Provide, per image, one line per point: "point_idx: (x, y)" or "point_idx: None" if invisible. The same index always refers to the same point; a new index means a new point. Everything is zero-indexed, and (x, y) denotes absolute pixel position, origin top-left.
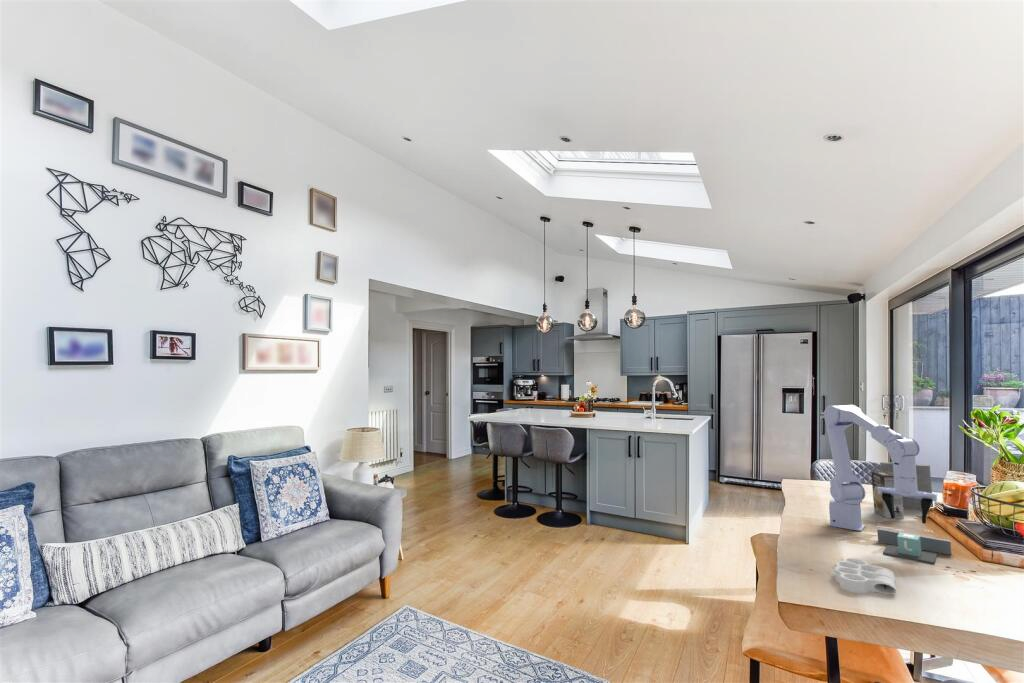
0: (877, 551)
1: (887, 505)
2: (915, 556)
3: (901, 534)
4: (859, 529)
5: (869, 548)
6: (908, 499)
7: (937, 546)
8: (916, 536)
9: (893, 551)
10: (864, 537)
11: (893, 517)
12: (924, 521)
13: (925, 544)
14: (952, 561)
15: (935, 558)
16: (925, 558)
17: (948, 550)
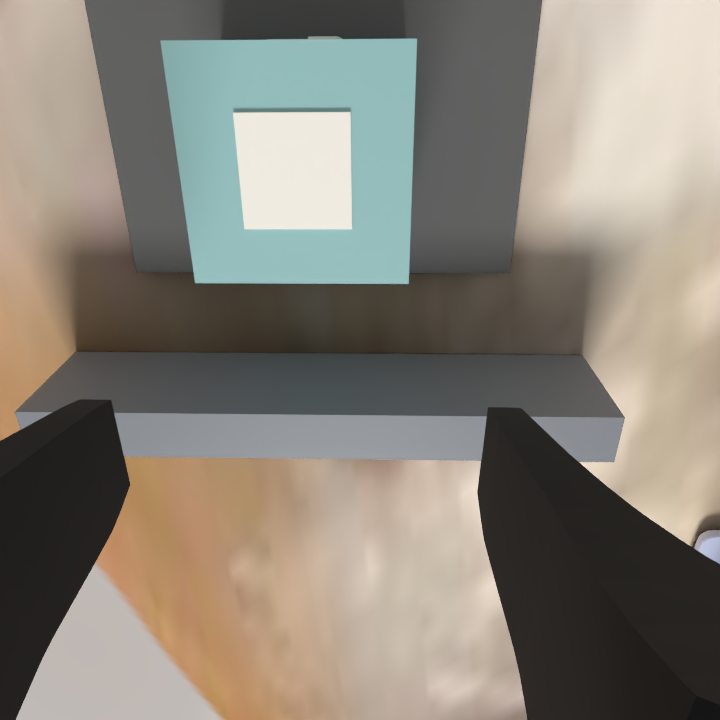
0: (596, 14)
1: (666, 537)
2: (253, 30)
3: (377, 187)
4: (714, 543)
5: (669, 73)
6: None
7: (140, 379)
8: (217, 216)
9: (452, 58)
10: (684, 403)
11: (495, 412)
12: (60, 409)
13: (226, 378)
14: (13, 182)
15: (109, 118)
16: (166, 28)
17: (73, 367)
